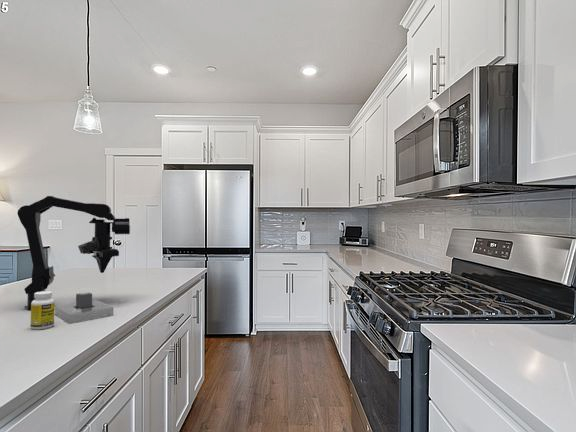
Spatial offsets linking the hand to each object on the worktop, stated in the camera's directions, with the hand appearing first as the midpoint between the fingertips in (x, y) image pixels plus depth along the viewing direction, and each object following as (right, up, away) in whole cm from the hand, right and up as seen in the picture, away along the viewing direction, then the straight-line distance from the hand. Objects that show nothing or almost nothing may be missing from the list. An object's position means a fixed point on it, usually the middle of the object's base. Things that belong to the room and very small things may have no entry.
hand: (102, 272), depth 145 cm
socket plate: (+3, -12, -18) cm, 22 cm away
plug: (+3, -12, -18) cm, 21 cm away
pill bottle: (-2, -13, -32) cm, 34 cm away
